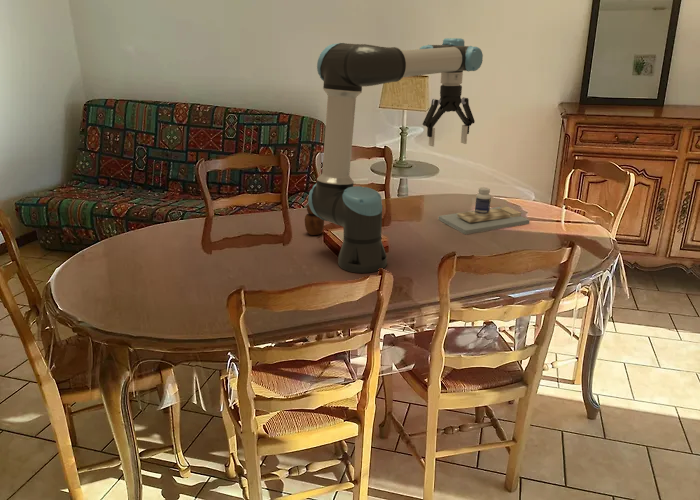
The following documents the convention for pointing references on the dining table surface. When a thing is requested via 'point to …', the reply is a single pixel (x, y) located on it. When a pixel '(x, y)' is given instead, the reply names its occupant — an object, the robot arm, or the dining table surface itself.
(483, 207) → the pill bottle
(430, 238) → the dining table surface
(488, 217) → the plank
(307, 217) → the wooden figurine
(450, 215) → the floor panel
